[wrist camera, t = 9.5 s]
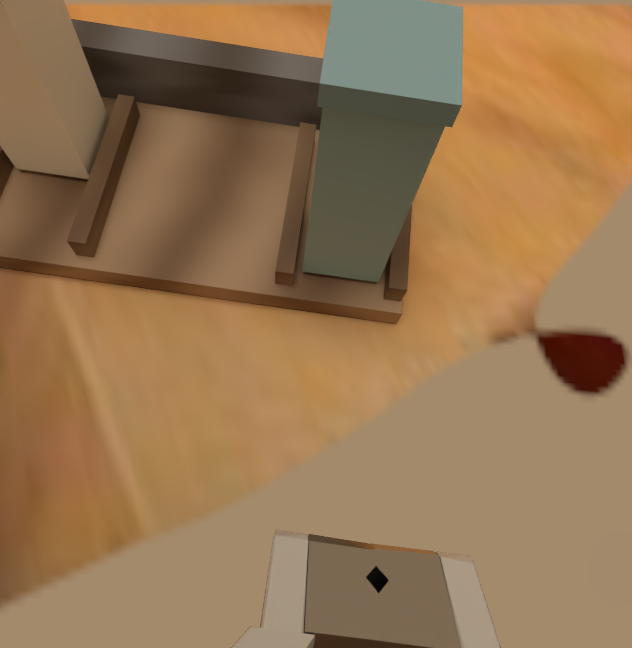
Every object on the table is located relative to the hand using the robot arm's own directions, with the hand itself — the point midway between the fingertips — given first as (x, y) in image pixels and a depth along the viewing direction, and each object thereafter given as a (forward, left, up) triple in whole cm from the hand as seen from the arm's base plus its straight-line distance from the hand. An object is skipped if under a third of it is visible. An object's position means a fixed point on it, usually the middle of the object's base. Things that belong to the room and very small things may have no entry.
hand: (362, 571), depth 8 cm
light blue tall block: (0, +13, -12) cm, 18 cm away
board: (-7, +16, -14) cm, 22 cm away
